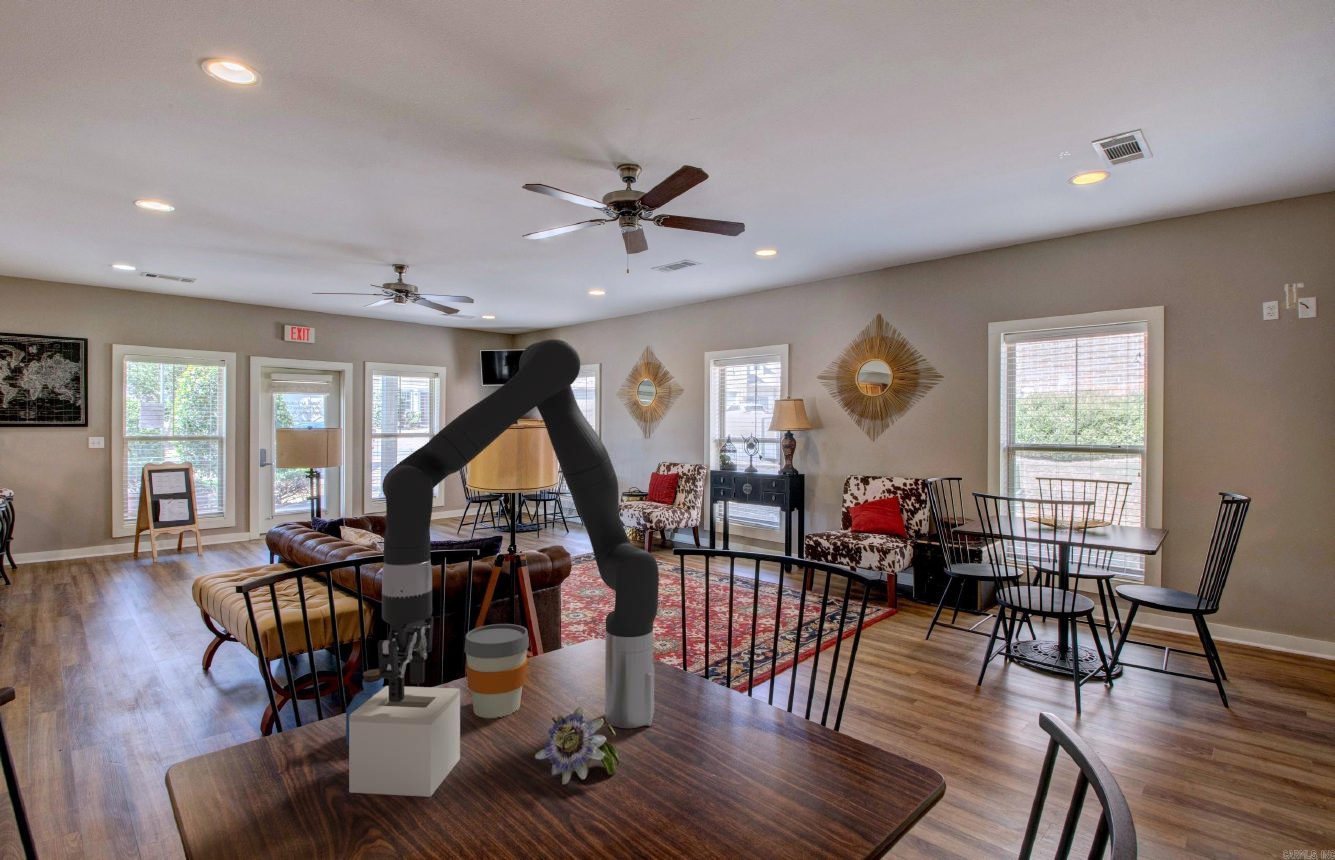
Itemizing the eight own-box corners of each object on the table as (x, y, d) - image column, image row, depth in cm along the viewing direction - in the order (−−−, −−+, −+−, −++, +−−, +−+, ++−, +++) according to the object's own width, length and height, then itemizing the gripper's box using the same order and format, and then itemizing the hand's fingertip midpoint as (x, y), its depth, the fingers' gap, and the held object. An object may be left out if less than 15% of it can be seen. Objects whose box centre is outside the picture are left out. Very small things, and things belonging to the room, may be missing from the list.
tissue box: (459, 758, 108) (460, 688, 108) (430, 796, 97) (430, 718, 97) (386, 755, 109) (386, 685, 109) (349, 792, 98) (349, 714, 98)
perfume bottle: (377, 748, 111) (377, 680, 111) (346, 745, 113) (346, 677, 113) (398, 732, 117) (398, 667, 117) (369, 728, 119) (369, 664, 119)
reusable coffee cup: (501, 689, 136) (501, 619, 136) (542, 704, 129) (542, 631, 129) (450, 710, 126) (450, 635, 126) (492, 728, 119) (492, 648, 119)
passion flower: (566, 816, 101) (521, 759, 100) (582, 767, 112) (541, 715, 111) (623, 784, 99) (577, 726, 98) (633, 737, 110) (592, 684, 108)
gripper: (408, 601, 95) (408, 712, 96) (448, 578, 110) (448, 674, 110) (360, 600, 96) (360, 710, 96) (406, 577, 110) (406, 673, 110)
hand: (407, 691), depth 103 cm, fingers open, 6 cm apart
